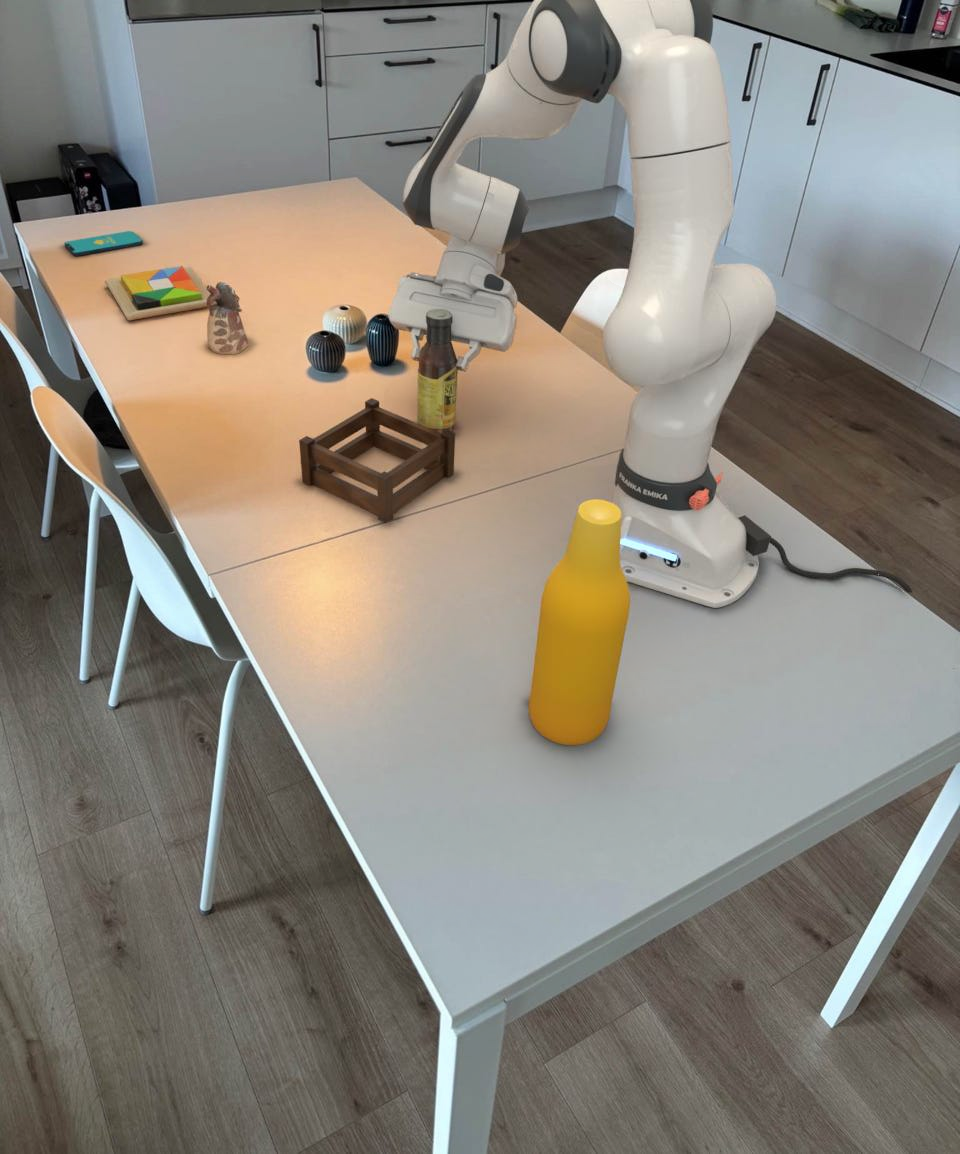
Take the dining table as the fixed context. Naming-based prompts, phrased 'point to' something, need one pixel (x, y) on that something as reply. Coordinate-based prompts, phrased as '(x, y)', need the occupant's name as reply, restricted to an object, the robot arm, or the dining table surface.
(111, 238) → the smartphone
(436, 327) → the sauce bottle
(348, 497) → the crate
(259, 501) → the dining table surface
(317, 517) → the dining table surface
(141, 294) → the wooden puzzle
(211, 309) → the figurine
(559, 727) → the beer bottle
